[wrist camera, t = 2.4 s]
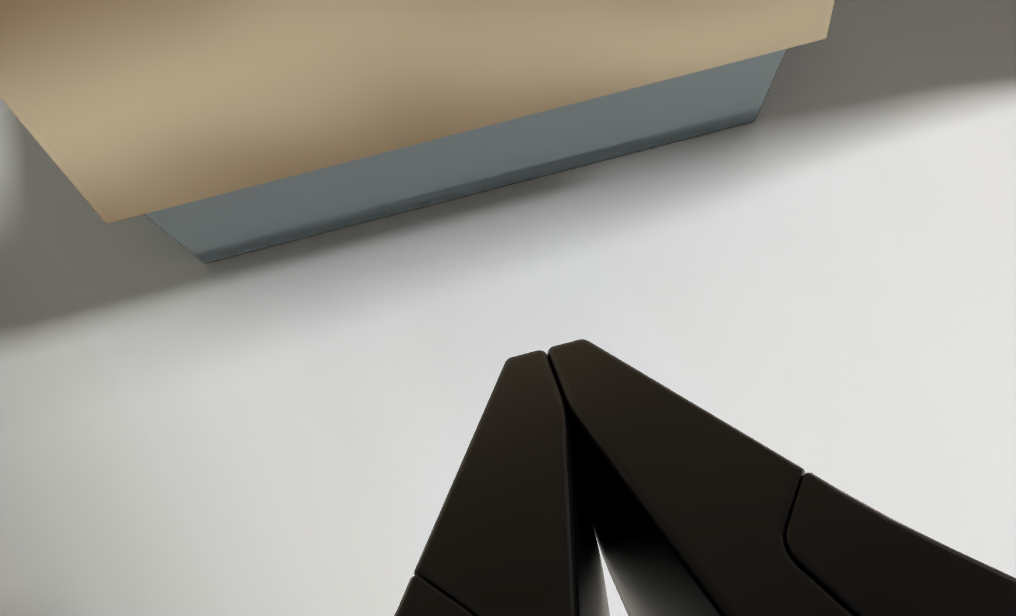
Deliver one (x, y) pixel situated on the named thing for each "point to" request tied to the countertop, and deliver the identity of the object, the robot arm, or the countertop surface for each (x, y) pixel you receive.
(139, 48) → the birch lid
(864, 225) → the countertop surface
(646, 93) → the slate box
